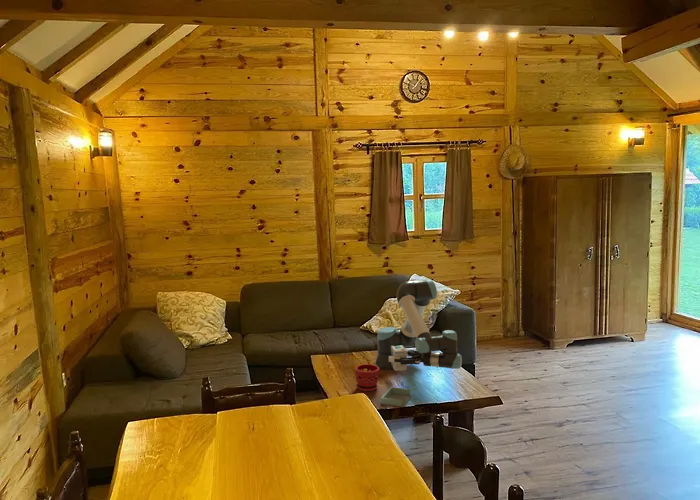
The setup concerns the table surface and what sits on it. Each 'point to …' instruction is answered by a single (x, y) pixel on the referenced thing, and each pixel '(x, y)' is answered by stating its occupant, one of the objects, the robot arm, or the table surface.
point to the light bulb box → (398, 352)
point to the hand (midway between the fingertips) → (392, 355)
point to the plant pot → (367, 377)
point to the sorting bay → (396, 397)
